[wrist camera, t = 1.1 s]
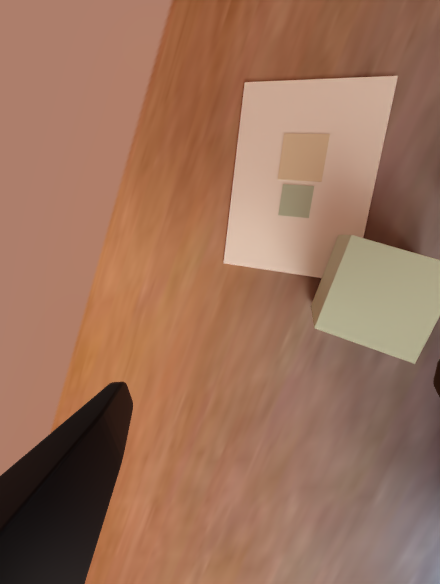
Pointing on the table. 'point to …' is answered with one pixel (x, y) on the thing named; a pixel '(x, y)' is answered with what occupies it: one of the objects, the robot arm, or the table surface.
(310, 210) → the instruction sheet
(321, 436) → the table surface
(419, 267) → the sage cube
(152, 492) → the table surface
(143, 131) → the table surface
